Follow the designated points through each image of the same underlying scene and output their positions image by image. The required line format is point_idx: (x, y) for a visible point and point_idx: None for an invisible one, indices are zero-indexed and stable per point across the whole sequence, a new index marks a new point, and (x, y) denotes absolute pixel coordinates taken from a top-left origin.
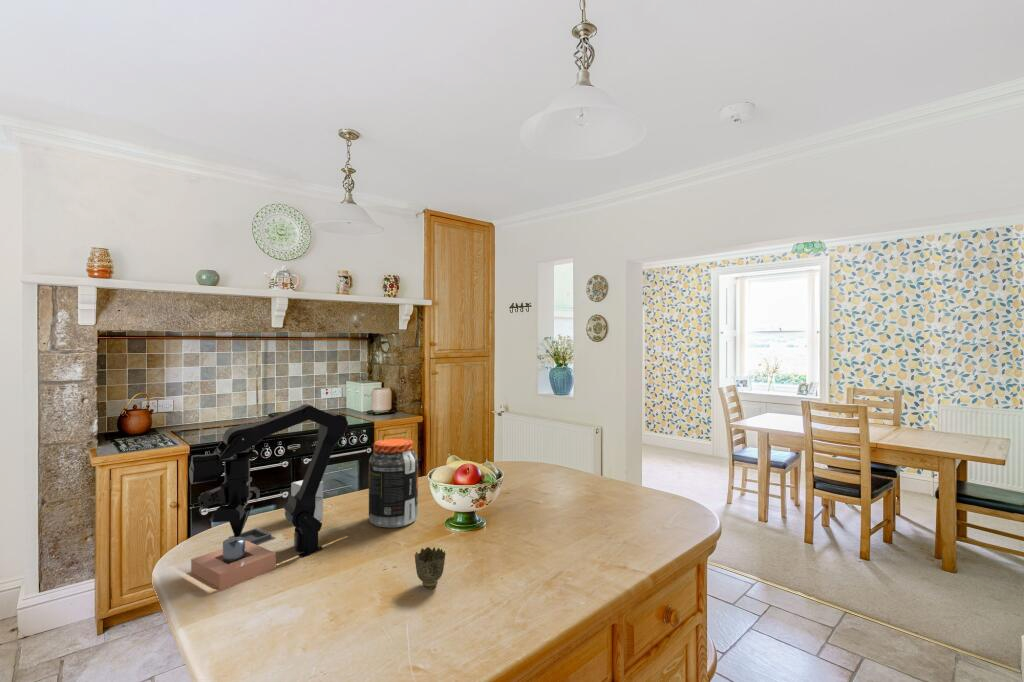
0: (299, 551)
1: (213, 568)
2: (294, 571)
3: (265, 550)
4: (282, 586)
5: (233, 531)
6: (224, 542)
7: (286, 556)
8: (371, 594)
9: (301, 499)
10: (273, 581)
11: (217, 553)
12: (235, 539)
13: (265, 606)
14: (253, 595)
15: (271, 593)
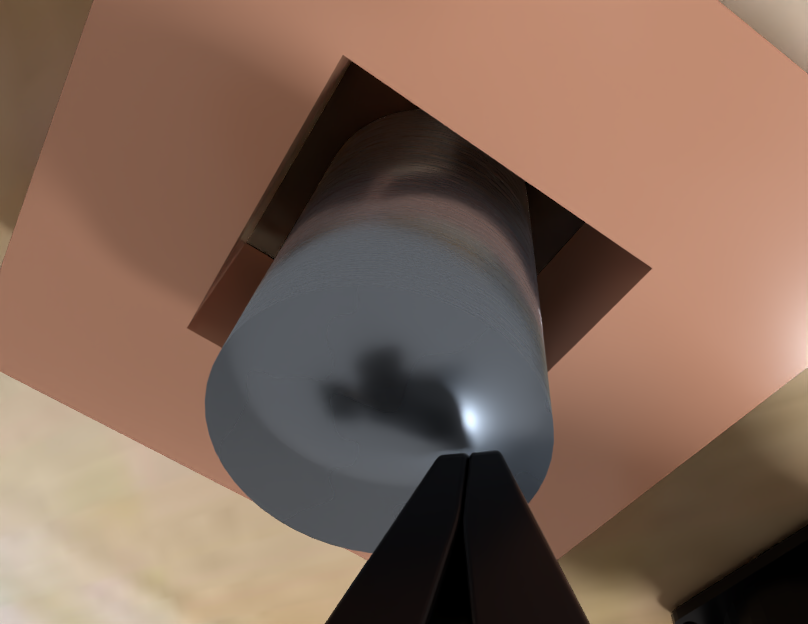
0: (738, 608)
1: (56, 224)
2: None
3: (551, 537)
4: (230, 593)
5: (384, 547)
6: (281, 331)
7: (718, 512)
8: None
9: None
10: (283, 539)
11: (492, 17)
12: (424, 441)
13: (9, 576)
14: (90, 493)
15: (140, 567)
